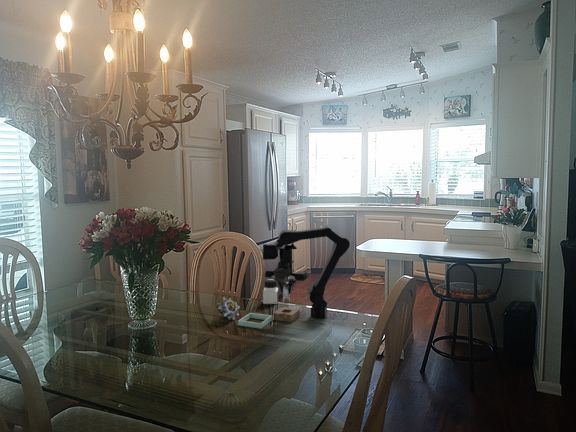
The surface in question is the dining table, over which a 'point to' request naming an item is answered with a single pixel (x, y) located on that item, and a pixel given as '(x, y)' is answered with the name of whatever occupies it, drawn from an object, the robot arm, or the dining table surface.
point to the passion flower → (228, 308)
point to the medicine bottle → (270, 292)
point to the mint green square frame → (244, 322)
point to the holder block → (286, 314)
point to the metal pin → (286, 292)
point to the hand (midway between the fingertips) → (286, 293)
